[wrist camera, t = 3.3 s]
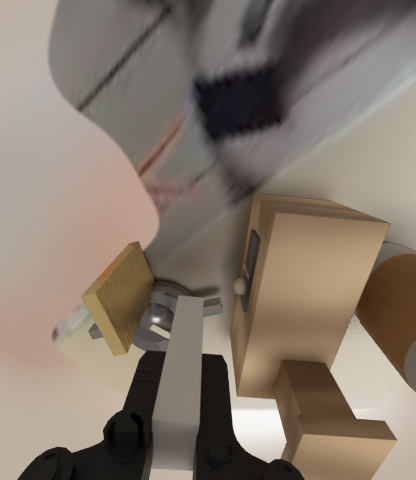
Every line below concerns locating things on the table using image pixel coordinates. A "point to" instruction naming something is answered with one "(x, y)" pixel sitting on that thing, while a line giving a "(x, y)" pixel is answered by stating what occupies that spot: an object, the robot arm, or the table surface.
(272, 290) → the wooden drawer box
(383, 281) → the coffee cup
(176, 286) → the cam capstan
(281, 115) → the table surface
